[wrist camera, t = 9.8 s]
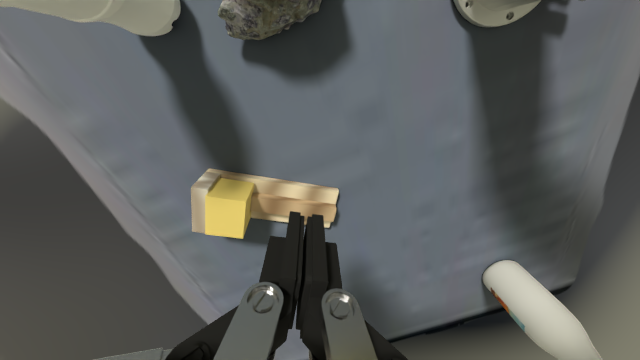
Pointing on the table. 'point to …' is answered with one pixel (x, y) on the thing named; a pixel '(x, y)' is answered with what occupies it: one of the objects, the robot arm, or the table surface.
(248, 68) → the table surface
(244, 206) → the block
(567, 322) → the milk bottle
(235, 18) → the mineral rock
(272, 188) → the rail
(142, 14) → the white bottle
